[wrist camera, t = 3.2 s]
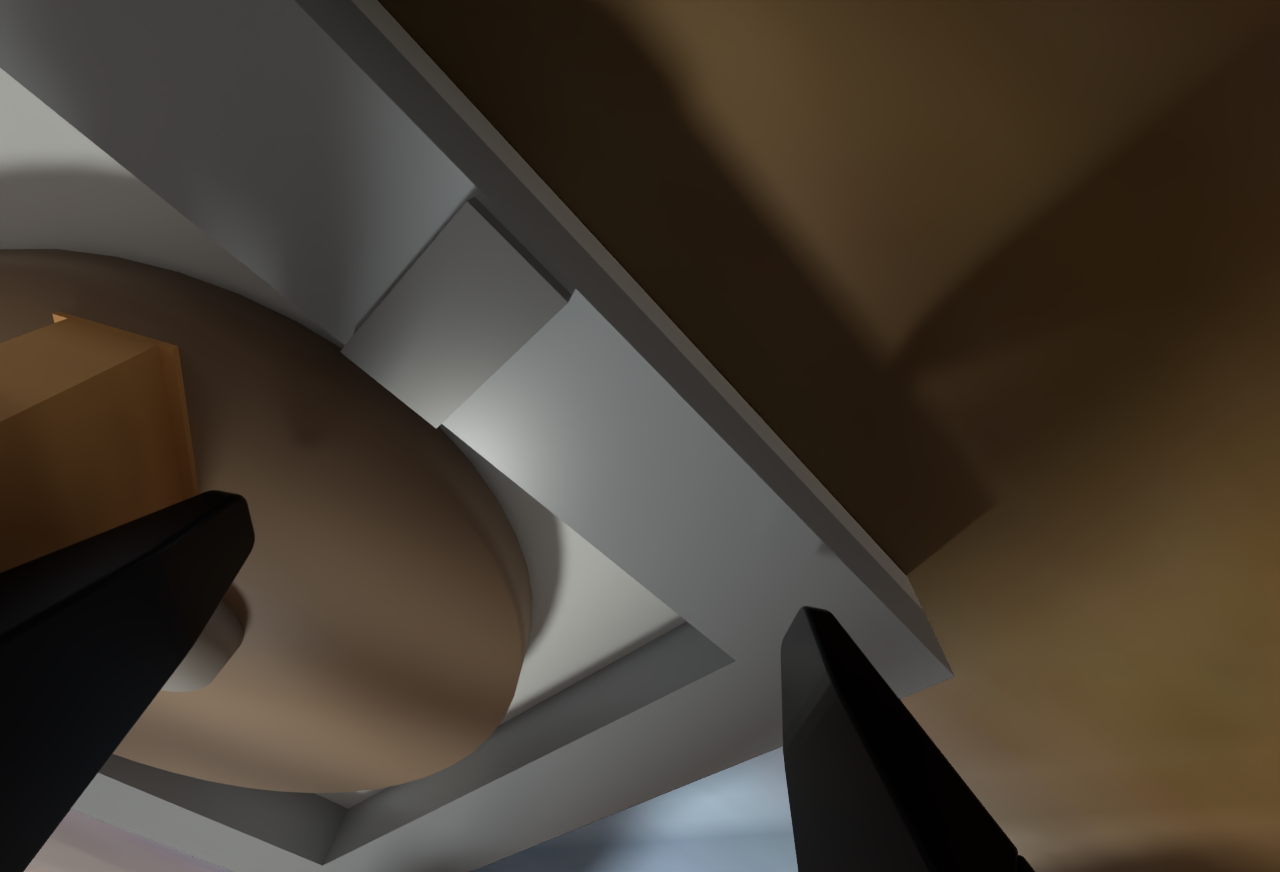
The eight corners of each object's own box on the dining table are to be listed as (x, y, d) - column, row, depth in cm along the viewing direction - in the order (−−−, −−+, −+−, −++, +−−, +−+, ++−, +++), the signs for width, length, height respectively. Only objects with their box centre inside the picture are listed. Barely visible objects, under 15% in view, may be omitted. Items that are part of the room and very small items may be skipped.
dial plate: (387, 834, 22) (350, 929, 19) (-357, 492, 14) (-582, 579, 11) (907, 576, 13) (961, 690, 10) (-299, -735, 5) (-1198, -1500, 3)
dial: (480, 788, 17) (410, 1038, 12) (-27, 679, 15) (-318, 923, 11) (608, 404, 9) (550, 677, 5) (-342, 112, 8) (-1654, 140, 3)
